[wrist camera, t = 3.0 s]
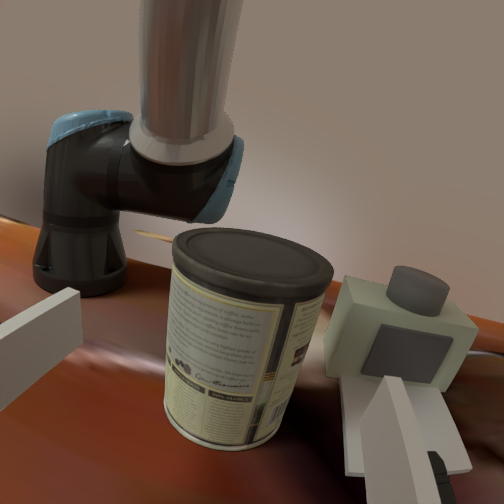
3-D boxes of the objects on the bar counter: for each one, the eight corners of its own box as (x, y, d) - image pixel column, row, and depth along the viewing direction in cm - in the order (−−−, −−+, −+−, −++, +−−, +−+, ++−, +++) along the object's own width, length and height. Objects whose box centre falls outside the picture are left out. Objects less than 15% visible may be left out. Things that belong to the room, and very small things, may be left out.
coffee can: (183, 357, 29) (200, 218, 25) (284, 381, 28) (325, 246, 24) (143, 429, 19) (143, 253, 15) (277, 464, 18) (346, 300, 14)
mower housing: (479, 470, 16) (555, 368, 12) (327, 474, 17) (401, 350, 14) (427, 357, 36) (461, 280, 32) (323, 338, 37) (351, 251, 34)
